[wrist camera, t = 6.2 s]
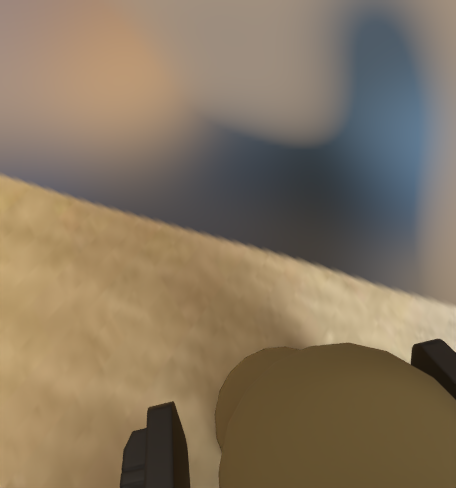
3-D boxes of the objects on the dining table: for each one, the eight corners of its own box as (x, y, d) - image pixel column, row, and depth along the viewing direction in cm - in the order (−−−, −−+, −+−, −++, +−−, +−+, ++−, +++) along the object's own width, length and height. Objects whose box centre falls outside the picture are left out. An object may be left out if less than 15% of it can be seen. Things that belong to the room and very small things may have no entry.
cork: (300, 321, 18) (404, 251, 7) (383, 442, 16) (680, 586, 5) (188, 395, 16) (119, 443, 6) (265, 533, 15) (352, 922, 4)
